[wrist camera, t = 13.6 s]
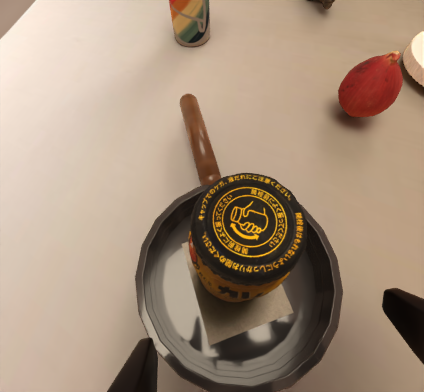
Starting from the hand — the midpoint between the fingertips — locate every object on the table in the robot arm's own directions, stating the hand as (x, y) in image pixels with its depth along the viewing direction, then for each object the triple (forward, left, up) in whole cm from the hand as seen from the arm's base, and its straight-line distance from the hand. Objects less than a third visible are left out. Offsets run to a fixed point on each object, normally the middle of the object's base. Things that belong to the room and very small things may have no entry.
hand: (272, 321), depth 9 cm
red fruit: (+18, -20, -12) cm, 30 cm away
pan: (+3, 0, -12) cm, 12 cm away
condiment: (+3, 0, -12) cm, 12 cm away
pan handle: (+17, 0, -10) cm, 19 cm away
